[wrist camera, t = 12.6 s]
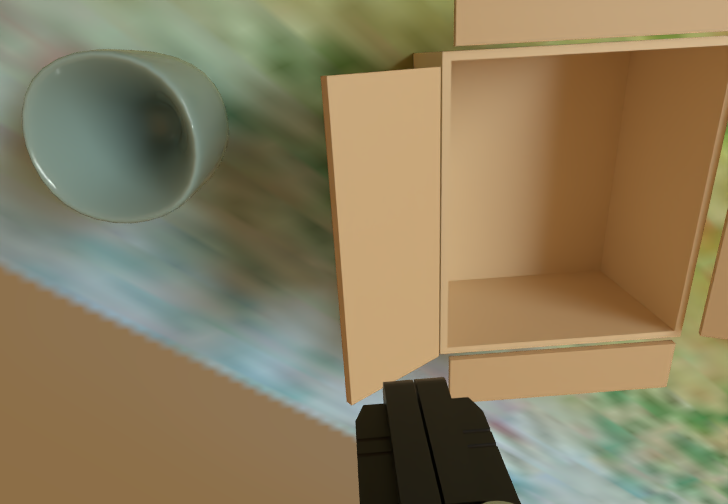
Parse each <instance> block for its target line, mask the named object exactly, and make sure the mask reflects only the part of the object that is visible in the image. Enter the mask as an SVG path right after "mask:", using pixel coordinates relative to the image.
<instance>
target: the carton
mask: <svg viewBox="0 0 728 504" xmlns="http://www.w3.org/2000/svg"><path fill="white" fill-rule="evenodd" d="M719 31H728V0H454V46H468V45H486V44H504V43H522V42H540V41H558V40H576V39H594V38H611V37H629V36H647V35H665V34H683V33H701V32H719ZM413 63H414V69H416V68H428V67H441V98H440V264H439V352H440V354H449V353H463V352H476V351H490V350H503V349H517V348H530V347H544V346H557V345H571V344H584V343H598V342H611V341H625V340H638V339H652V338H665V337H679V336H680V335H681V331H682V326H683V322H684V317H685V313H686V308H687V304H688V299H689V294H690V290H691V285H692V281H693V276H694V272H695V267H696V263H697V258H698V253H699V249H700V244H701V240H702V235H703V231H704V226H705V222H706V217H707V212H708V208H709V203H710V199H711V194H712V190H713V185H714V181H715V176H716V171H717V167H718V162H719V158H720V153H721V149H722V144H723V139H724V135H725V130H726V126H727V121H728V36H713V37H695V38H677V39H658V40H640V41H622V42H604V43H587V44H569V45H551V46H533V47H515V48H498V49H480V50H462V51H444V52H427V53H413ZM674 349H675V343H674V342H673V341H672V340H664V341H651V342H637V343H624V344H611V345H597V346H584V347H570V348H557V349H543V350H530V351H516V352H503V353H489V354H476V355H462V356H449V388H448V389H449V392H450V395H451V398H462V397H469V398H470V399H471V400H472V401H473V402H477V401H490V400H502V399H515V398H528V397H541V396H554V395H567V394H580V393H593V392H606V391H619V390H632V389H645V388H658V387H666V386H667V381H668V377H669V372H670V368H671V363H672V358H673V354H674Z"/></svg>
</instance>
